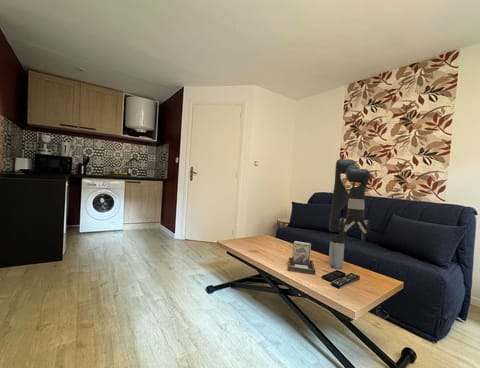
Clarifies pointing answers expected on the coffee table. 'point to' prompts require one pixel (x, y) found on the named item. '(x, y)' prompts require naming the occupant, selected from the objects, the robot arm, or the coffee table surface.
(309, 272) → the tray
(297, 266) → the sage offcut
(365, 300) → the coffee table surface
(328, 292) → the coffee table surface
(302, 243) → the candy bar box
